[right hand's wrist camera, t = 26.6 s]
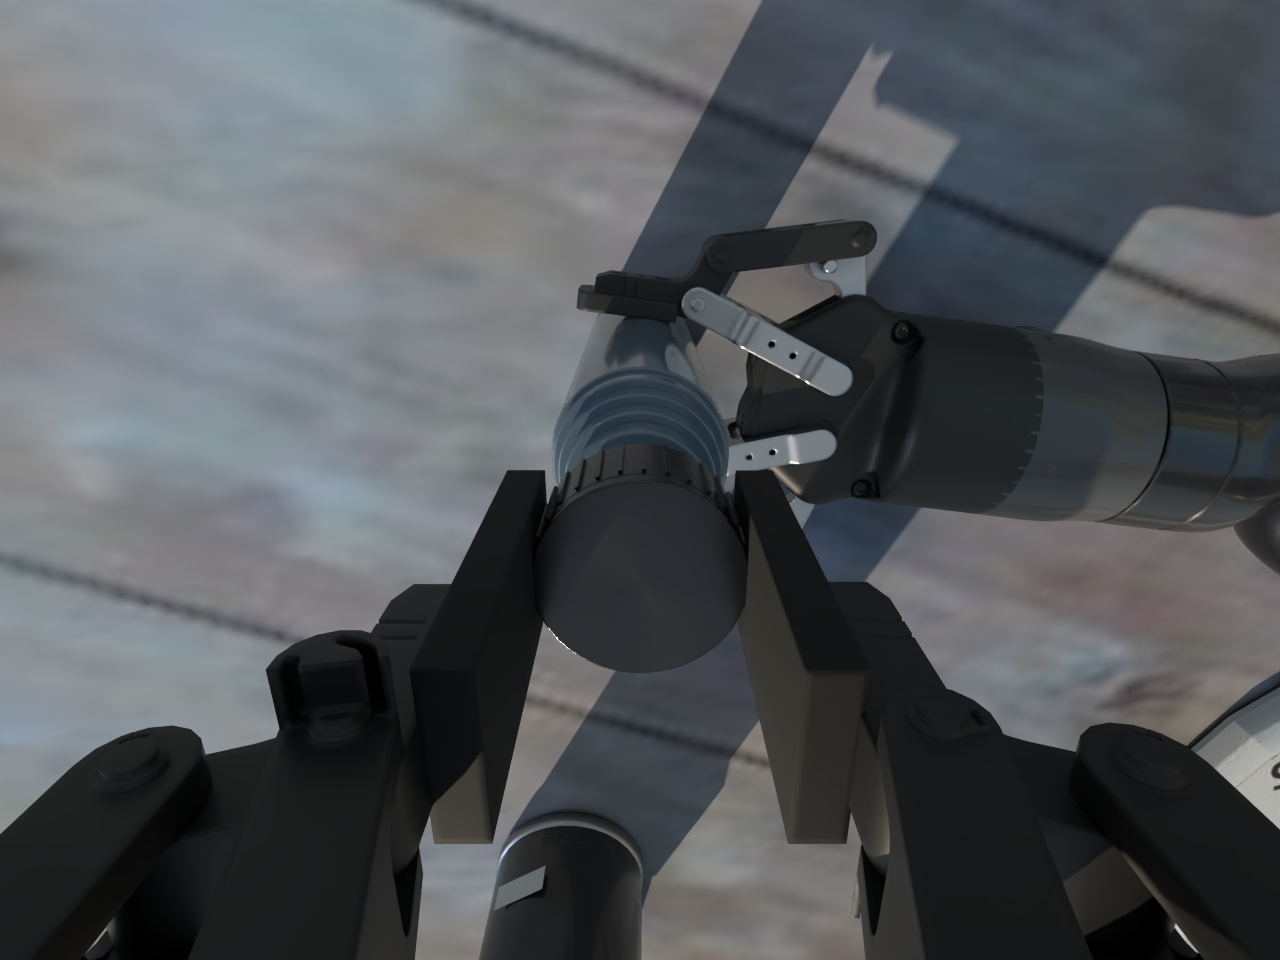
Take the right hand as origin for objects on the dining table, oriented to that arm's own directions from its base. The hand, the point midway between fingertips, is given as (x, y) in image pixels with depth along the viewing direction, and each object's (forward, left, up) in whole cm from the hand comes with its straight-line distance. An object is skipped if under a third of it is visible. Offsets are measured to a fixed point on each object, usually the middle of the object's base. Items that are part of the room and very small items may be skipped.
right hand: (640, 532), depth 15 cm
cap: (0, 0, +2) cm, 2 cm away
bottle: (0, 0, -21) cm, 21 cm away
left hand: (-1, -2, -14) cm, 14 cm away
